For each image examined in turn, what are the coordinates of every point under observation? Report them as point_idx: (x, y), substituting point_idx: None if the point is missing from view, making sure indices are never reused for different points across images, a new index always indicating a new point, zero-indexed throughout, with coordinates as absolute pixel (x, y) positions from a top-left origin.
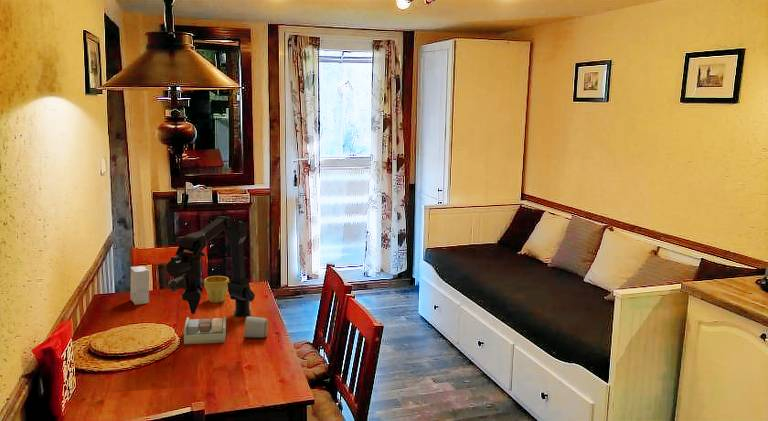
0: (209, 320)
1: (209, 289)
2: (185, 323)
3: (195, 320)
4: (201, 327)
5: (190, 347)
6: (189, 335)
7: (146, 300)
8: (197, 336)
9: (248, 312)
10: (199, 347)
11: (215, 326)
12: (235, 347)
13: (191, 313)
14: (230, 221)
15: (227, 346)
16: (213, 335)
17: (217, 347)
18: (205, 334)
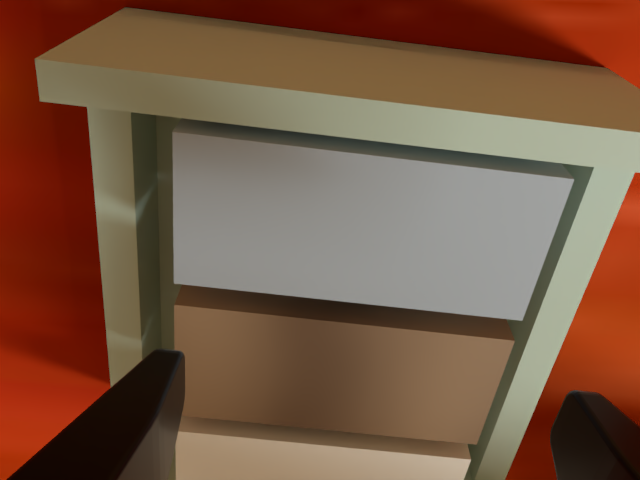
0: (405, 424)
1: None
2: (376, 103)
3: (476, 265)
4: (180, 315)
5: (19, 84)
6: (94, 118)
7: None
8: (104, 211)
9: None
10: (19, 182)
11: (179, 456)
12: (18, 449)
13: (145, 358)
14: None
15: (42, 403)
16: (113, 370)
17: (18, 334)
18: (114, 307)
